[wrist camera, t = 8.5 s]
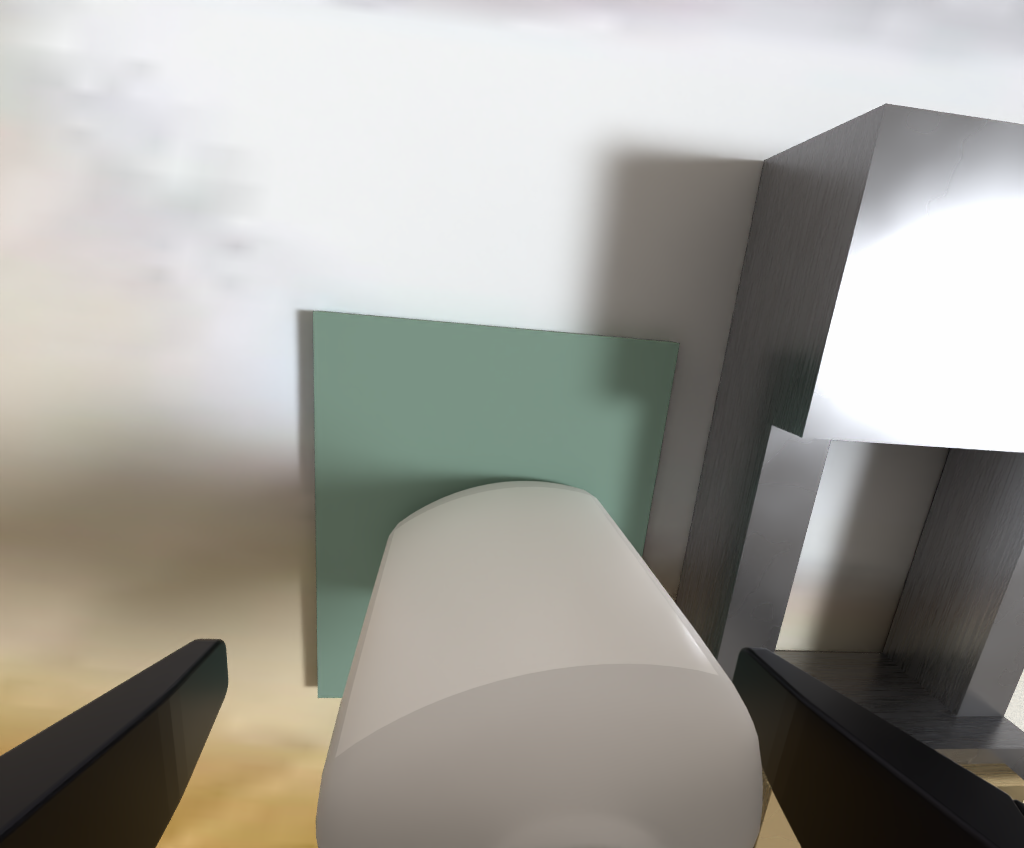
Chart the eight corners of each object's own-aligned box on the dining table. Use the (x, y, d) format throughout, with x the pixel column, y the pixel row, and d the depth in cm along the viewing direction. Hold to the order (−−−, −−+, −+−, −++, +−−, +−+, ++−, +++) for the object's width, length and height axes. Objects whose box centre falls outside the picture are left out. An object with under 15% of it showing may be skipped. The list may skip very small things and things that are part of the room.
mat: (613, 688, 15) (616, 698, 15) (321, 686, 14) (317, 697, 14) (673, 341, 13) (679, 343, 12) (318, 310, 12) (313, 311, 11)
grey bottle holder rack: (873, 791, 17) (991, 936, 14) (637, 796, 16) (690, 953, 13) (1084, 203, 13) (1368, 159, 9) (764, 160, 12) (917, 89, 8)
